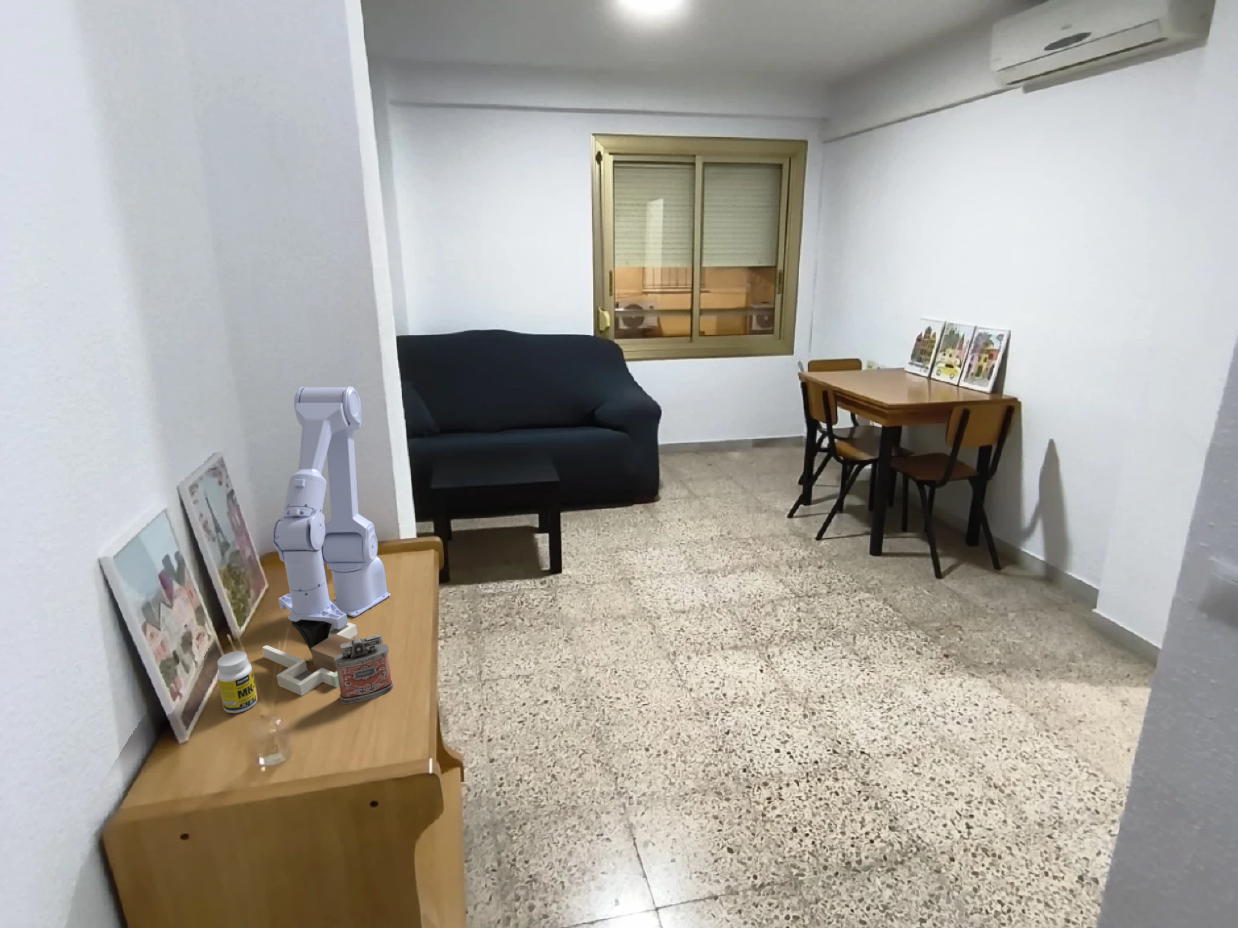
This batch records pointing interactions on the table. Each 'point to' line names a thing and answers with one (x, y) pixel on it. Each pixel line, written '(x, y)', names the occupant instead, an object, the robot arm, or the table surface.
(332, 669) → the block
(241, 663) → the supplement bottle
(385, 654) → the lighter
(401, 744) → the table surface
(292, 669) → the white zigzag frame
